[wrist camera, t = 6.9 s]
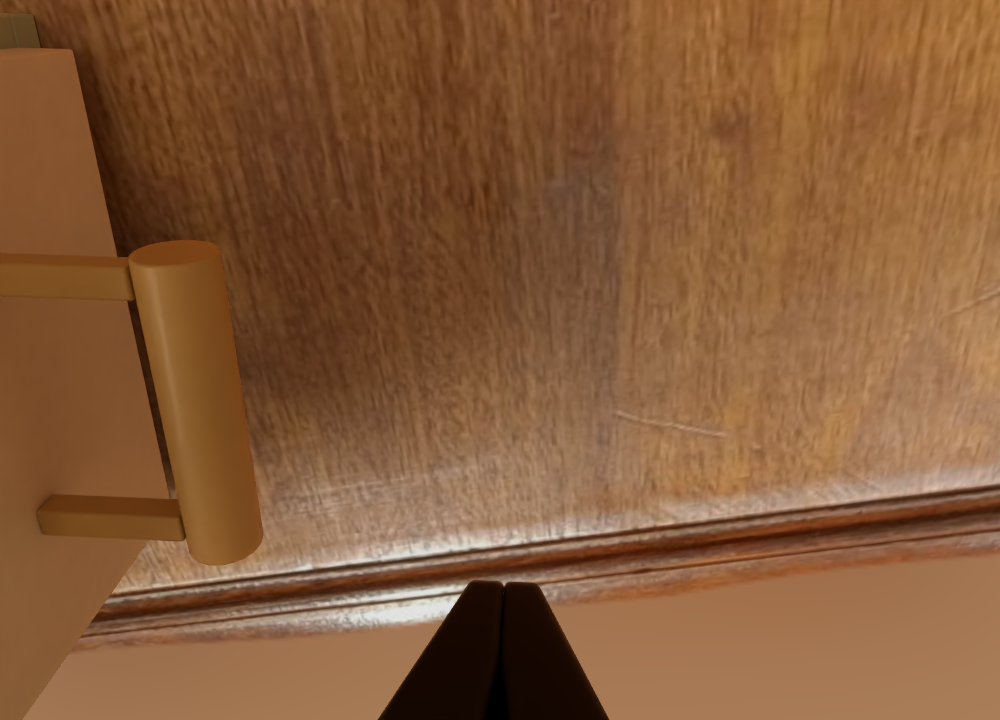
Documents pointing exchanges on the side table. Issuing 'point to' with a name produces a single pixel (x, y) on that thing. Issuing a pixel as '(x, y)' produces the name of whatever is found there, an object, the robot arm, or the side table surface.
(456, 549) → the side table surface
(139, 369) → the drawer
